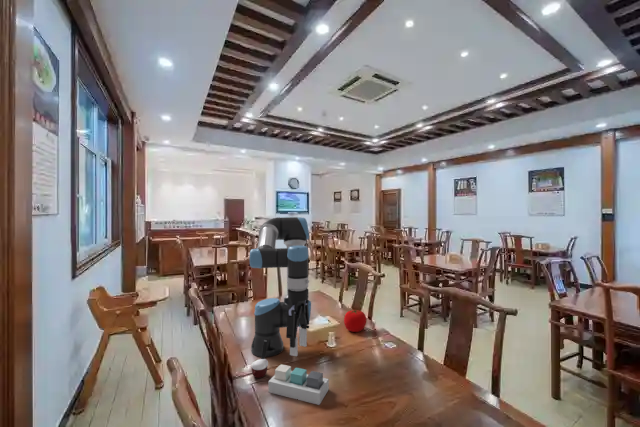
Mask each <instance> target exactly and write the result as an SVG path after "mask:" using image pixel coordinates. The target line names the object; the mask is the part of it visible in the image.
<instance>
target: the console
mask: <svg viewBox="0 0 640 427" xmlns="http://www.w3.org/2000/svg"><path fill="white" fill-rule="evenodd" d="M292 371H293V370H291V372H292ZM308 375H309V374H308V373H307V376H308ZM329 382H330V380H329V378H326V377H323V385H322V386H321V388H320V389H319V390H318V389H314V388H310V387H307V380H306V382H305V383H304V384H303V385H302V386H301V385H297V384H293V383H291V377H290V378H289V379H288V380H287V381H286V382H284V381H280V380H276V379H275V374H274V375H272V377H271V378H270V379H269V380H268V386H267V387H268V393H270V394H275V395H279V396H282V397H287V398H290V399H293V400H297V399H298V401H302V402H305V403H308V404H309V403H310V404H314V405H318V406H320V405H321V403H322V402H323V400H324V398H325V397H326V394H327V393H328V391H329V386H330V385H329V384H330V383H329Z"/></svg>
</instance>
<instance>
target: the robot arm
mask: <svg viewBox="0 0 640 427" xmlns="http://www.w3.org/2000/svg"><path fill="white" fill-rule="evenodd" d="M309 232H310V231H309V226H308V222H307V219H306V218H305V217H302V216H301V217H298V216H295V217H293V216H292V217H290V216H289V217H280V216H278V217H273V218H270V219H268V220H266V221H265V222H264V223H263V224H261V225H260V227H259V230H258V237H259V239H258V244H257V247H256V248H251V249H250V251H249V259H248V260H249V267H250V268H251V269H269V268H270V269H271V268H272V269H275V268H276V269H277V268H280V269H281V268H286V295H285V296H284V298H283V301H280V299H279V298H277V297H276V298H275V297H271V298H266V299H262V300H259V301H258V302H257V303H256V304H255V306H254V314H253V315H254V335H253V339H252V342H251V347H250V351H251V354H252V355H254V356H256V357H260V358H261V356H262V349H263V342H264V340H265V341H267V347H266V354H265V358H269V357H273V356H277V355H279V354H280V353H282V352H283V351H284V341H283V338H282V335H281V332H280V329H282V328H286V332H285V333H286V334H285V338H286V339H289V356H292V357H293V356H294V357H297V356H298V355H299V354H298V352H299V350H298V344H299V346H300V347H304V348H305V347H307V346H308V344H307V342H308V340H307V339H308V338H307V335H308V334H307V333H308V330H307V329H310V320H311V310H312V301H311V300H309V288H308V287H309V283H310V280H309V257H310V256H309V249H308V246H306V243H307V240H309V238H310V233H309ZM282 240H283V244H284V245H285V246H286V248H285V247H282V248H276V243H277V241H282ZM298 328H299V334H298V333H297V332H298ZM297 334H298V336H299V338H298V336H297ZM298 339H299V342H298Z"/></svg>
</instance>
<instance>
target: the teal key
mask: <svg viewBox="0 0 640 427" xmlns="http://www.w3.org/2000/svg"><path fill="white" fill-rule="evenodd" d="M291 371H292V372H291V383H293V384H297V385H301V386H302V385H303V384H304V383H305V382H306V380H307V374H308V373H307V372H308V370H307V369H304V368H301V367H295V368H294V369H293V370H291Z"/></svg>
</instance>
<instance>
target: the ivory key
mask: <svg viewBox="0 0 640 427" xmlns="http://www.w3.org/2000/svg"><path fill="white" fill-rule="evenodd" d="M291 371H292V366H290V365H286V364H280V365H278V366H277V367H276V369H274V375H275V379H276V380H280V381H284V382H286V381H287V380H288V379H289V378H290V377H291Z"/></svg>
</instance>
